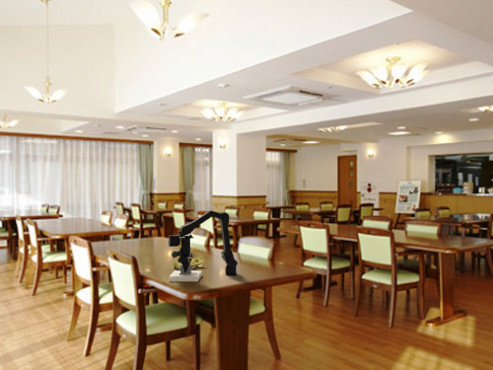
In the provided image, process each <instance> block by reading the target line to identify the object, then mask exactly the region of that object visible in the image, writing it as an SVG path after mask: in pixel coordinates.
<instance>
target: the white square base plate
mask: <svg viewBox="0 0 493 370" xmlns="http://www.w3.org/2000/svg"><path fill="white" fill-rule="evenodd" d="M202 274H203V273H202V270H191V274H180V270H174V271H173V272H172V273H171V274H170V275H169V276H168V282H199V280H200V279H201V277H202V276H203V275H202Z"/></svg>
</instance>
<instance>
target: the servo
mask: <svg viewBox="0 0 493 370" xmlns="http://www.w3.org/2000/svg"><path fill="white" fill-rule="evenodd" d="M195 268H196V267H191V264H189V266H188V269H187V272H184V269H183V265H181V266H180V267H178V268H176V269H177V270H178V269H180V270H179V271H180V274H191V271H192V270H194V269H195Z"/></svg>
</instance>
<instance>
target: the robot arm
mask: <svg viewBox="0 0 493 370" xmlns="http://www.w3.org/2000/svg"><path fill="white" fill-rule="evenodd" d="M211 218H216V219H218V220H217V221H218V222H219V225H220V229H221V237H222V245H223V251H221V252H220V254H221V259H222V260H223V261H224V263H225V264H226V265H225V269H224V270H225V275H226V276H237V275H238V272H237V266H238V263H239V262H238V261H237V260H236V259H235V256H234V253H233V249H232V248H231V239H230V232H229V224H230V214H229V213H228V212H225V211H220V212H219V211H215V210H210V209H209V210H207V211H206V212H205V213H203V214H202V215H200V216H198V217H197V218H196V219H194V220H193V221H190V222H187V223H185V224H183V225H182V226H180V228H179V232H178V233H177V234H176V235H173V234H172V235H168V240H167V243H168V244H167V245H168V247H169V248H173V247H175V248H176V247H179V246H180V248H179V250H174V251H172V253H171V257H172V258H173V259H176V258H177V257H178V259H177V263H181V264H182V265H183V269H184V272H187V269H188V266H189V264H190V263H191V260H192V259H194V254H193V253H194V252H191V249H192V246H191V239H194V236H193V235H192V232H194V230H195V229H196V228H197V227H199V226H201V225H202V224H204V223H205V222H206V221H208V220H210V219H211Z"/></svg>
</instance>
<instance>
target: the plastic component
mask: <svg viewBox="0 0 493 370" xmlns="http://www.w3.org/2000/svg"><path fill="white" fill-rule="evenodd" d="M204 261H205V259H204V257H202V256H201V255H198V256H197V257H195V258H194V257H193V258H192V260H191V263H190V264H191V267H195V268H199V266H200V265H203V263H204ZM181 265H182V264H181V263H180V262H178V261H177V260H174V261H173V265H172V267H173V268H175V269H177V268H178V267H180V266H181ZM177 271H180V269H177Z"/></svg>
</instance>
